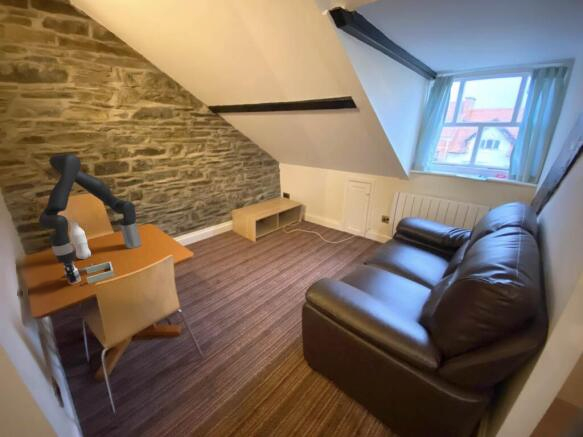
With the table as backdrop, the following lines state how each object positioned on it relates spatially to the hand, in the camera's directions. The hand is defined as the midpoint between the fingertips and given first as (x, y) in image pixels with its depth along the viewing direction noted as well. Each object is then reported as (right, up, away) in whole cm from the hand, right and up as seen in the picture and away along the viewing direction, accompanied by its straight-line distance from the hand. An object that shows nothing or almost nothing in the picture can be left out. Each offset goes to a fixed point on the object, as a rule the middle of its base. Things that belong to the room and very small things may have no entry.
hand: (73, 278), depth 131 cm
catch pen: (+9, 0, +7) cm, 11 cm away
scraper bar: (-4, +1, +8) cm, 9 cm away
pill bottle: (0, -2, +1) cm, 2 cm away
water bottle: (-15, +7, +24) cm, 30 cm away
